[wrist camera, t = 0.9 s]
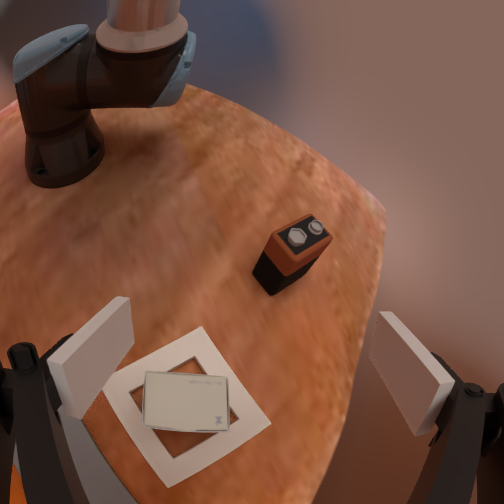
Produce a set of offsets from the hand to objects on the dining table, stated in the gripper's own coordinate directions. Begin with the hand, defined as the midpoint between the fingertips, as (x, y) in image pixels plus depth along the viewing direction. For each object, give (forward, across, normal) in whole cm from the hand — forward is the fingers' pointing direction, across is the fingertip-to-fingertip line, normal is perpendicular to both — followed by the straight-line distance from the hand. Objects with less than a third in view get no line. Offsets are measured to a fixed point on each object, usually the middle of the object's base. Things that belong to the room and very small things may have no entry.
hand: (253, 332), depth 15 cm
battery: (+26, +3, -5) cm, 26 cm away
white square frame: (+10, -7, -16) cm, 20 cm away
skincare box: (+10, -7, -16) cm, 20 cm away
